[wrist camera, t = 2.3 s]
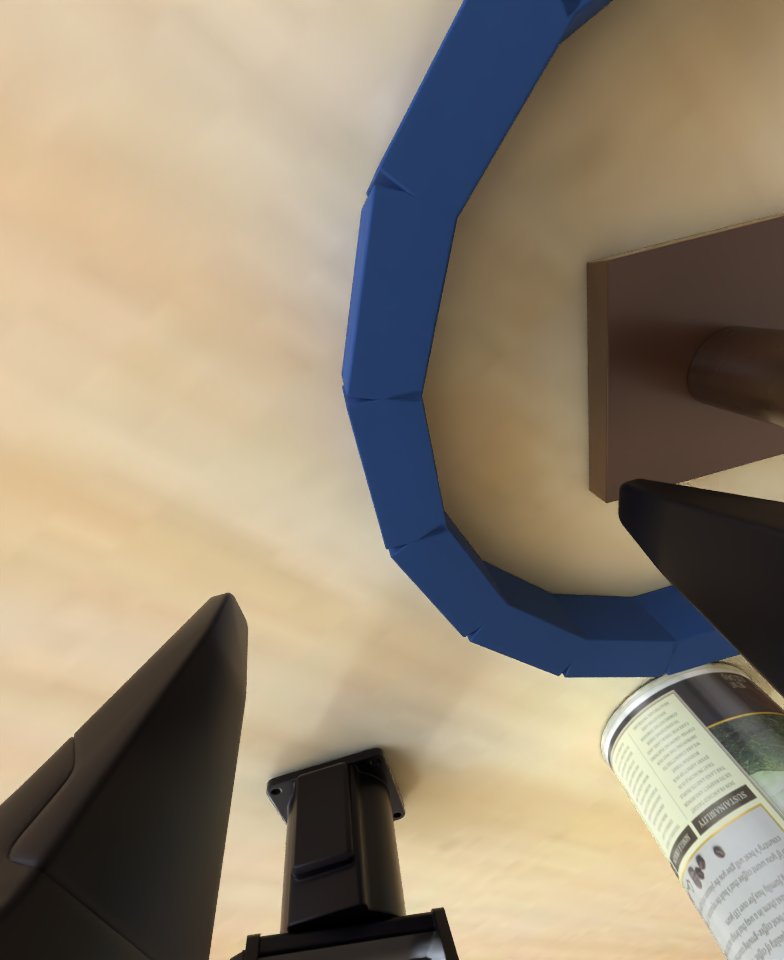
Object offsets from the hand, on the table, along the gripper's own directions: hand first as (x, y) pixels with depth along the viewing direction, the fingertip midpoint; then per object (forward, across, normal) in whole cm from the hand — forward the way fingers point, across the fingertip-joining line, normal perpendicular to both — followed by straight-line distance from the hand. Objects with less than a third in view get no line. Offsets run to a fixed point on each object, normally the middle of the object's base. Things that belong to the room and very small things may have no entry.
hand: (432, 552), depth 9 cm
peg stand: (+7, -12, 0) cm, 14 cm away
